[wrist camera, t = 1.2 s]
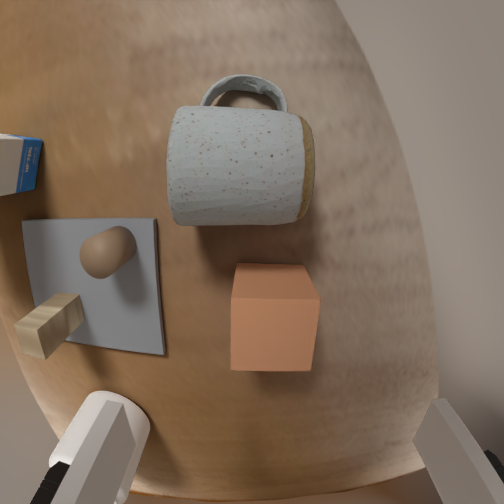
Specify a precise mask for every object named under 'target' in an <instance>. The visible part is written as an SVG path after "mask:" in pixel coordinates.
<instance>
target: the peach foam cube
mask: <svg viewBox="0 0 504 504" xmlns="http://www.w3.org/2000/svg"><path fill="white" fill-rule="evenodd" d="M320 301H321V299H320V297H319V295H318V293H317V291H316V289H315V287H314V285H313V283H312V281H311V279H310V277H309V275H308V273H307V271H306V269H305V267H304V265H293V264H260V263H237V266H236V271H235V277H234V283H233V289H232V295H231V370H242V371H311V365H312V358H313V352H314V345H315V339H316V332H317V324H318V317H319V309H320Z"/></svg>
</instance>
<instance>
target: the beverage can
mask: <svg viewBox="0 0 504 504" xmlns="http://www.w3.org/2000/svg"><path fill="white" fill-rule="evenodd" d="M106 400H110V401H114V402H119V403H123V405H124V408H125V412H126V415H127V418H128V422H129V425H130V428H131V431H132V434H133V437H134V440H135V443H136V446H135V448H134V451H133V453H132V456H131V459H130V461H129V464H128V467H127V469H126V472H125V475H124V477H123V480H122V483H121V485H120V488H119V491H118V494H117V496H116V499H115V502H114V504H123V503H124V502H125V501H126V499H127V496H128V494H129V491H130V487H131V484H132V482H133V479H134V476H135V473H136V470H137V467H138V464H139V461H140V458H141V455H142V452H143V449H144V446H145V444H146V441H147V438H148V435H149V432H150V422H149V420H148V418H147V416H146V415H145V413H144V412H143V411H142V410H141V409H140V408H139V407H138V406H137V405H136V404H135V403H133V402H132V401H130V400H129V399H127V398H125V397H123V396H121V395H119V394H116V393H113V392H109V391H95V392H93V393H91V394H89V395H88V396H87V398H86V399H85V401H84V402H83V404H82V406H81V407H80V409H79V410H78V412H77V413H76V415H75V417H74V418H73V420H72V421H71V423H70V425H69V426H68V428H67V430H66V431H65V433H64V434H63V436H62V438H61V439H60V441H59V443H58V444H57V446H56V448H55V449H54V451H53V453H52V454H51V456H50V458H49V467H50V468H51V467H52V466H53V465H54V464H56V463H57V462H58V461H61V462H64V463H66V464H69V465H71V463H72V461H73V459H74V458H75V456H76V454H77V452H78V450H79V448H80V446H81V445H82V443H83V441H84V439H85V437H86V436H87V434H88V432H89V430H90V428H91V427H92V425H93V423H94V421H95V420H96V418H97V416H98V414H99V412H100V411H101V409H102V407H103V406H104V404H105V402H106Z"/></svg>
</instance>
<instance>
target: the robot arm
mask: <svg viewBox="0 0 504 504" xmlns="http://www.w3.org/2000/svg"><path fill="white" fill-rule="evenodd" d="M413 442H414V444H415V446H416V448H417V450H418V452H419V454H420V456H421V458H422V460H423V462H424V464H425V466H426V468H427V470H428V472H429V474H430V476H431V479H432V481H433V483H434V485H435V487H436V489H437V491H438V493H439V495H440V497H441V500H442V501H443V504H504V466H503V465H501V462H500V461H499V459H498V458H497V456H496V455H495V454H493V453H492V452H490V451H489V450H487V451H484V452H483V451H482V449H481V448H480V446H479V445H478V444H477V442H476V441H475V439H474V438H473V436H472V435H471V433H470V432H469V430H468V429H467V428H466V426H465V425H464V423H463V422H462V420H461V419H460V418H459V416H458V415H457V414H456V412H455V411H454V409H453V408H452V407H451V405H450V404H449V403H448V401H447V400H446V398H441V399H436V400H432V402H431V404H430V406H429V408H428V411H427V413H426V415H425V417H424V419H423V421H422V423H421V425H420V427H419V429H418V431H417V433H416V435H415V437H414V439H413ZM135 446H136V443H135V440H134V437H133V434H132V431H131V428H130V425H129V422H128V418H127V415H126V412H125V408H124V405H123V403H119V402H114V401H110V400H106V402H105V404H104V406H103V407H102V409H101V411H100V412H99V414H98V416H97V418H96V420H95V421H94V423H93V425H92V427H91V428H90V430H89V432H88V434H87V436H86V437H85V439H84V441H83V443H82V445H81V446H80V448H79V450H78V452H77V454H76V456H75V458H74V459H73V461H72V463H71V465H69V464H66V463H64V462H61V461H58V462H57V463H56V464H54V465H53V466H52V467H51V468H50V469H49V471H48V472H47V474H46V476H45V477H44V478H45V479H44V480H43V481H42V483H41V485H40V488H38V490H37V492H36V494H35V496H34V497H33V499H32V501H31V503H30V504H114V502H115V499H116V496H117V494H118V491H119V488H120V485H121V483H122V480H123V477H124V475H125V472H126V469H127V467H128V464H129V461H130V459H131V456H132V453H133V451H134V448H135Z"/></svg>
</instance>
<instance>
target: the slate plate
mask: <svg viewBox="0 0 504 504" xmlns="http://www.w3.org/2000/svg"><path fill="white" fill-rule="evenodd" d="M22 231H23V240H24V248H25V256H26V262H27V269H28V274H29V280H30V285H31V290H32V295H33V300H34V304H35V308H37V307H38V306H39V305H41V304H42V303H43V302H45V301H46V300H48V299H49V298H50V297H52V296H53V295H54V294H56V293H57V292H63V293H72V294H80V299H81V305H82V310H83V315H84V321H83V322H82V323H81V324H80V325H79V326H78V327H77V328H76V329H75V330H74V331H73V332H72V333H71V334H70V335H69V336H68V337H67V338H66V339H65V340H66V341H71V342H77V343H82V344H88V345H94V346H100V347H106V348H113V349H120V350H127V351H134V352H142V353H151V354H160V355H164V353H165V351H166V347H165V338H164V329H163V319H162V309H161V297H160V284H159V269H158V250H157V223H156V218H65V219H26V220H23V221H22Z"/></svg>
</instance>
